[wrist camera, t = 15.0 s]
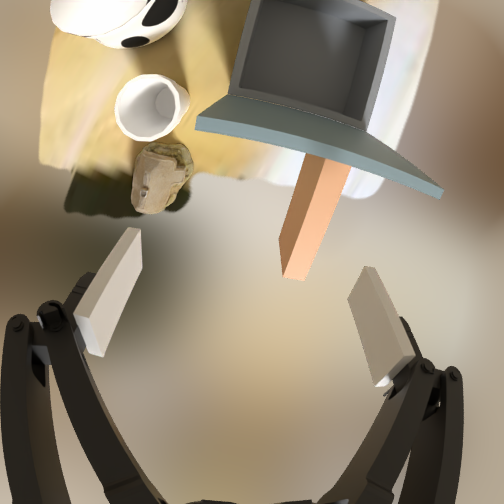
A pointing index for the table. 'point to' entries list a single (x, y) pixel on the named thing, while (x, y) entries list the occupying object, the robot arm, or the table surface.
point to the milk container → (118, 20)
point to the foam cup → (150, 107)
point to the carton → (314, 56)
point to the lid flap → (311, 166)
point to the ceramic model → (159, 176)
